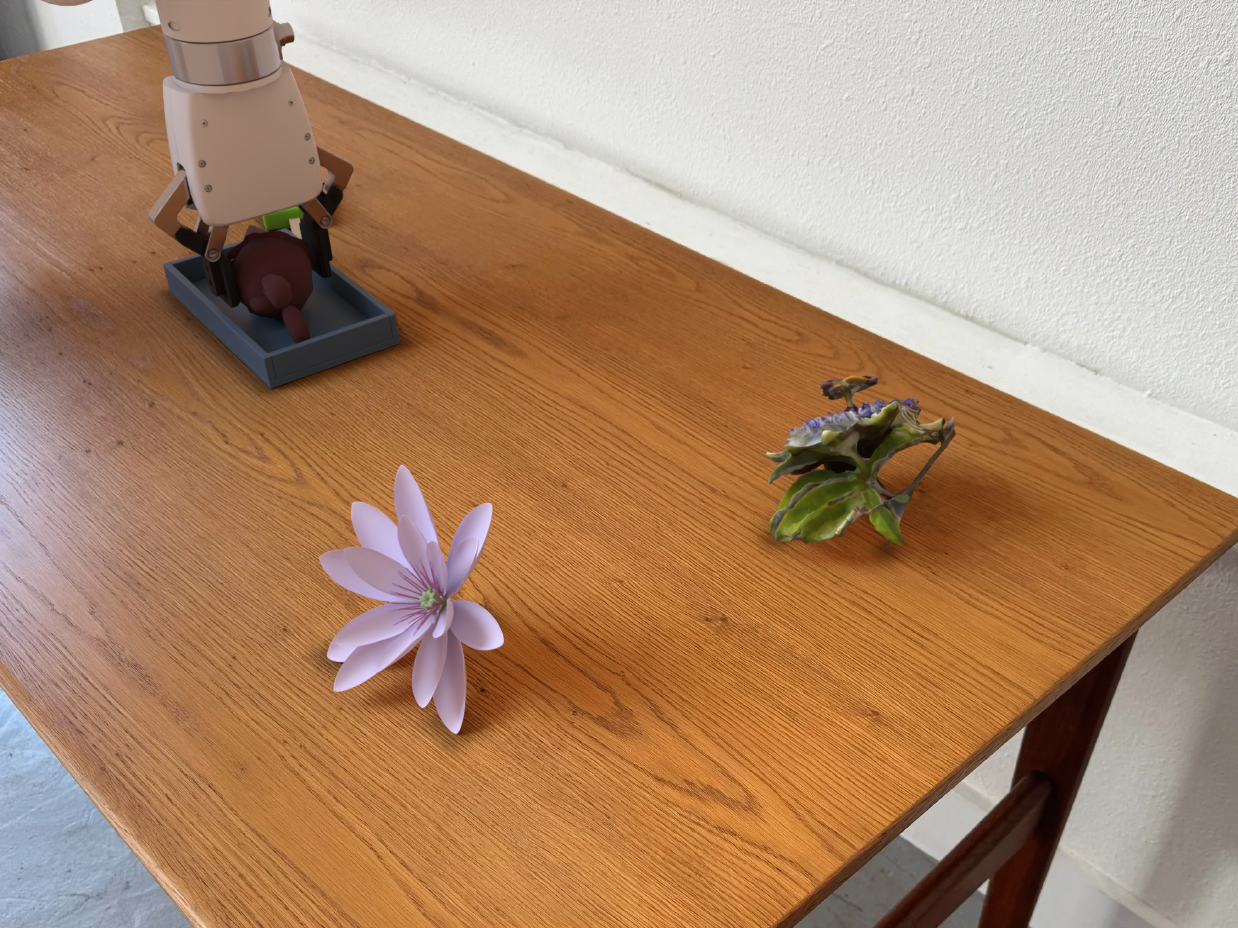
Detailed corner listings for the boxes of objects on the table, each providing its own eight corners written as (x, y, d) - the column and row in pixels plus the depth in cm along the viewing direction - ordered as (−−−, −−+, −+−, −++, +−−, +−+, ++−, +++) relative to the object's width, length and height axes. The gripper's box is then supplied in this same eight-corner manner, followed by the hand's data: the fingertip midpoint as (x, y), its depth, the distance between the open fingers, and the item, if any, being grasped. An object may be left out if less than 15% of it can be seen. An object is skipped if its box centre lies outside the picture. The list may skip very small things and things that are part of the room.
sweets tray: (270, 389, 93) (263, 358, 91) (170, 292, 104) (162, 263, 102) (400, 343, 98) (396, 313, 96) (291, 255, 109) (286, 227, 107)
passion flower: (825, 546, 88) (906, 392, 85) (923, 612, 80) (1017, 445, 77) (710, 503, 81) (794, 334, 78) (804, 571, 73) (902, 385, 70)
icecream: (189, 208, 100) (224, 306, 91) (273, 172, 100) (317, 266, 91) (228, 278, 105) (266, 376, 96) (308, 244, 106) (352, 338, 97)
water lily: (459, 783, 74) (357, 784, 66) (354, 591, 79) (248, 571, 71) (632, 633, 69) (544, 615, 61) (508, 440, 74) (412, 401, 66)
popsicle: (315, 184, 120) (311, 165, 119) (334, 252, 110) (330, 232, 108) (257, 191, 119) (253, 172, 117) (271, 261, 108) (266, 240, 107)
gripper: (311, 17, 93) (349, 240, 105) (83, 65, 85) (152, 299, 97) (359, 43, 89) (393, 272, 101) (124, 96, 81) (190, 338, 93)
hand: (274, 284), depth 99 cm, fingers open, 7 cm apart
